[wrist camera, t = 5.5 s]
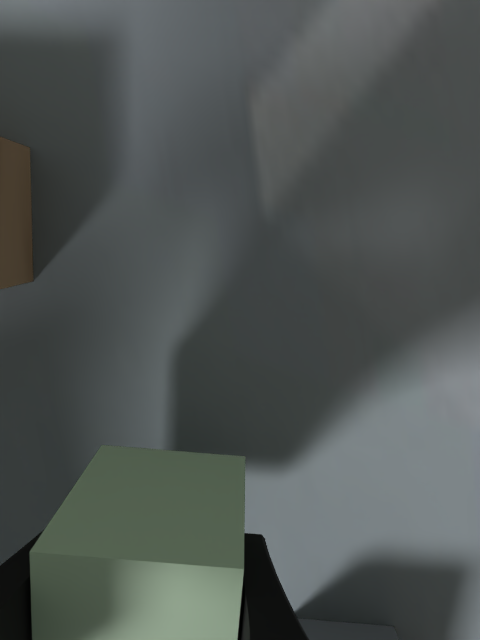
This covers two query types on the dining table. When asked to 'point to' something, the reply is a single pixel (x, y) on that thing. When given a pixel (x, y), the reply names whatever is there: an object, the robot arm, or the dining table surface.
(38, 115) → the dining table surface
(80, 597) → the sage green block
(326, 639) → the gray block
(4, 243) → the walnut block
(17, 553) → the robot arm
